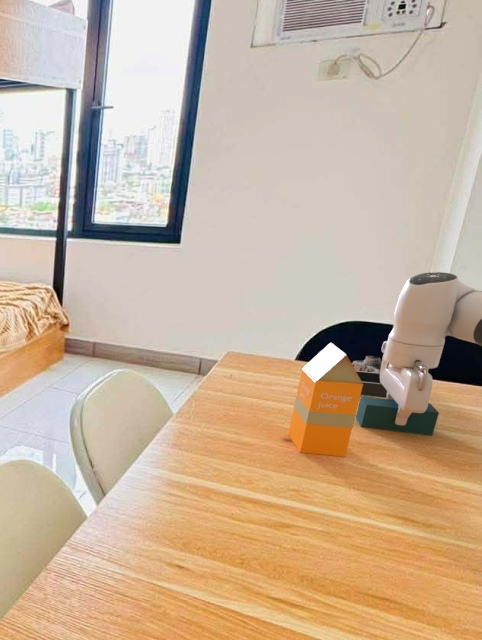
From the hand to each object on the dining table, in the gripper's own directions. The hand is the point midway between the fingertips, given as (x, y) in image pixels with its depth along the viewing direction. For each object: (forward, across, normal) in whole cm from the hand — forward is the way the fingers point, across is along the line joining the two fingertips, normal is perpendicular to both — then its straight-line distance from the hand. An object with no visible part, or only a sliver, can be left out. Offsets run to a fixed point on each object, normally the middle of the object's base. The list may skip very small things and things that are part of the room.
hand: (394, 418), depth 131 cm
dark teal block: (+2, 0, 0) cm, 2 cm away
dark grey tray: (+2, +25, 0) cm, 25 cm away
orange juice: (+2, -17, +16) cm, 23 cm away
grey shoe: (+2, +40, -4) cm, 40 cm away
